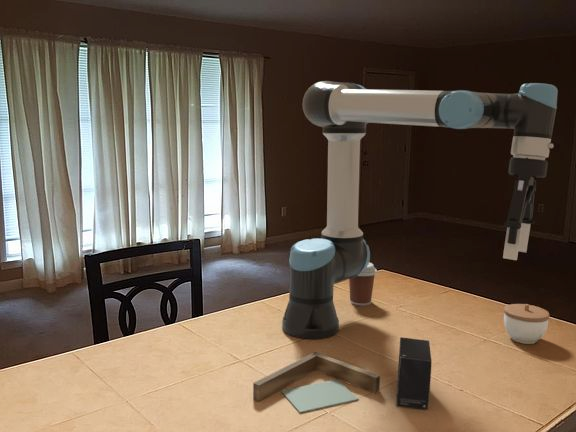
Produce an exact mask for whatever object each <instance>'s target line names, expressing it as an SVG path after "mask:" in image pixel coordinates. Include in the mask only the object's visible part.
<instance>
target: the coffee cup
mask: <svg viewBox="0 0 576 432" xmlns="http://www.w3.org/2000/svg"><path fill="white" fill-rule="evenodd" d="M377 272H378V270H377V268H376V267H375V265H374V264H373V263H372V262H370V261H369V264H368V266H367V267H366V269H365V270H364V271H363V272H362V273H360V274H359V275H357V276H356V277H354V278H352V279H348V282H349V283H348V285H349V302H350V304H353V305H355V306H359V307H360V306H368V305H369V306H370V305H371V304H372V298H373V297H372V296H373V292H374V291H373V290H374V284H375V283H374V281H375V276H376V275H377Z"/></svg>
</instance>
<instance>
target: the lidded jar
mask: <svg viewBox="0 0 576 432" xmlns="http://www.w3.org/2000/svg"><path fill="white" fill-rule="evenodd" d="M549 320H550V313H549V311H548V310H546V309H544V308H543V307H542V308H541V307H539V306H537V305H536V306H535V305H531V304H528V303H511V304H507V305H505V307H504V308H503V324H504V329H505V332H507V335H509V336H510V338H511V340H512V341H514V342H516V343H521V344H525V345H533V344H535V343H537V342H538V341H539V340H541V339H542V338H543V337H544V335H545V334H546V332H547V329H548V325H549Z"/></svg>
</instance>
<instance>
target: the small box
mask: <svg viewBox="0 0 576 432" xmlns="http://www.w3.org/2000/svg"><path fill="white" fill-rule="evenodd" d="M431 353H432V352H431V345H430V340H426V339H418V338H417V339H416V338H411V337H401V336H400V338H399V353H398V364H397V365H398V366H397V367H398V368H397V378H396V398H395V401H396V403H395V404H396V407H403V408H411V409H418V410H428V409H429V401H430V391H431V390H430V389H431V376H432V354H431Z"/></svg>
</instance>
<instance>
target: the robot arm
mask: <svg viewBox="0 0 576 432" xmlns="http://www.w3.org/2000/svg"><path fill="white" fill-rule="evenodd" d="M558 91H559V90H558V88H557V87H556V85H554V84H550V83H549V84H548V83H543V82H542V83H541V82H539V83H538V82H534V83H533V82H530V83H523V84H521V86H520V87H519V90H518V92H517V93H491V92H479V91H478V92H477V91H471V90H464V89H463V90H462V89H458V90H424V89H423V90H420V89H419V90H418V89H415V90H414V89H373V88H372V89H370V88H369V89H367V88H366V87H364V86H362V85H360V84H358V83H357V84H356V83H353V82H341V81H339V82H338V81H330V80H323V81H318V82H315V83H314V84H312V85H311V86H310V87H308V88H307V90H306V91H305V93H304V96H303V97H302V98H303V99H302V111H303V113H304V116H305V117H306V119H307V120H308V121H309V122H311V124H312V125H315V126H317V127H320V128H322V135H323V136H324V137H325V138H326V139H327V141H328V142H327V144H328V145H327V199H326V200H327V201H326V202H327V205H326V206H327V209H326V211H327V212H326V227H325V228H324V229H323V230H322V231H321V235H320V236H321V237H320V238H318V237H317V238H311V239H309V238H308V239H303V240H300V241H297V242H296V243H294V244H293V245H292V246H291V248H290V252H289V253H290V254H289V260H288V264H289V284H288V285H289V287H288V289H289V297H288V299H289V300H288V302H287V306H286V308H285V310H284V311H285V312H284V315H283V316H282V321H281V322H282V325H281V327H282V330H283V332H284V333H286V334H288V335H290V336H292V337H295V338H300V339H307V340H314V339H315V340H316V339H317V340H318V339H325V338H329V337H332V336H334V335H336V334H337V333H338V332H339V329H340V328H339V327H340V320H339V318H338V314H337V311H336V306H335V303H334V285H337V284H339V283H342V282H344V281H347V280H349V279H352V278H354V277H356V276H357V275H359V274H360V273H362V272H363V271H364V270H365V269H366V267H367V266H368V264H369V262H370V259H371V252H370V251H371V250H370V247H369V245H368V244H367V241H366V240H365V239H364V232H363V231H362V230H361V228H359V198H360V197H359V195H360V194H359V193H360V192H359V191H360V190H359V189H360V188H359V187H360V158H361V157H360V156H361V155H360V152H361V151H360V150H361V149H360V148H361V139H362V138H364V137H365V136H366V133H367V125H368V124H369V123H370V124H371V123H373V124H374V123H375V124H386V125H387V124H389V125H404V126H405V125H406V126H407V125H408V126H421V127H423V126H424V127H441V128H450V129H455V130H467V129H487V128H488V129H508V130H514V131H513V137H512V142H511V149H510V155H512V157H511V158H510V159H509V164H508V171H507V172H508V174H509V175H511V176H518V179H515V180H514V183H513V184H514V185H513V191H512V196H511V201H510V204H509V210H508V213H507V218H506V221H504V222H503V224H502V225H503V228H506V234H505V241H504V246H503V247H504V249H503V256H502V258H503V259H507V260H513V261H517V260H518V255H519V252H521V253H527V251H528V243H529V237H530V233H531V232H530V231H531V225H535V219H533V218H534V216H533V215H534V214H533V213H534V203H535V193H536V190H537V180H535V179H534V178H538V179H539V178H543V179H544V178H546V177H547V173H548V164H549V162H548V160H546V158H549V157H550V156H549V155H550V149H553V148H554V143H552V142H551V141H552V138H553V137H552V136H553V129H554V124H555V120H556V119H555V118H556V113H557V108H558V106H557V104H558V93H559V92H558Z"/></svg>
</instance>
